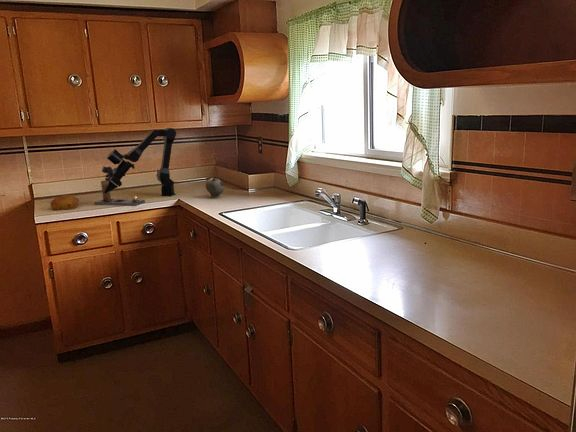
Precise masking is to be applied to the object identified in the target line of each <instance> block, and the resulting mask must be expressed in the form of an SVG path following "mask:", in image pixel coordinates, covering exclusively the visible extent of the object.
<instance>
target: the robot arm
mask: <svg viewBox="0 0 576 432" xmlns="http://www.w3.org/2000/svg"><path fill="white" fill-rule="evenodd" d="M176 136H177V131H176V129H174V128H172V127H166V128H164V129H155V128H154V129H152V130H151V131H150V132H149V133H148V134H147V135H146V136H145V138H144V139H143V140H142V141H141V142H140V143H139V144H138V145H137V146H135V147H133V148H132V149H131V150H129V151H128V152H127V153H126V154H125V153H124V154H122V153H120V152H119V151H118V150H117V149H113V150H112V151H111V152H109V153H108V155H107V156H106V159H107V160H109V161H110V162H111V163H112V164H113V165H117V167H115V168H112V167H111V166H102V169H101V173H104V174H105V175H104V179H105V180H108V181H109V184H108V186H107V188H106V189H105V191H104V193H107V192H109V191H110V192H112V191H113V190H115V189H117V188H121V186H122V185H123V182H122V181H121V180H122V179H123V178H124V177H126V174H127V173H128V172H129V170H130V169H131V168H132V170H133V169H134V170H135V169H136V168H135V163H137V162H138V161H140V158H141V156H142V155H143V152H145V150H146V149H147V148H148V147H149V146H150V145H151V144H152V142H153V141H155V140H156V138H157V137H163V142H164V144H163V152H162V157H161V163H160V164H161V165H160V168H159V169H157V170H156V175H155V177H156V179H157V180H158V182H159V183H161V184H160V185H161V188H160V191H161V194H160V197H172V196H174V195H177V193H175V186H174V185H175V181H174V180H172V179H171V176H170V175H171V173H170V169H169V168H170V161H171V156H172V155H171V154H172V147H173V143H174V142H175V139H176ZM105 180H104V181H105Z"/></svg>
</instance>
